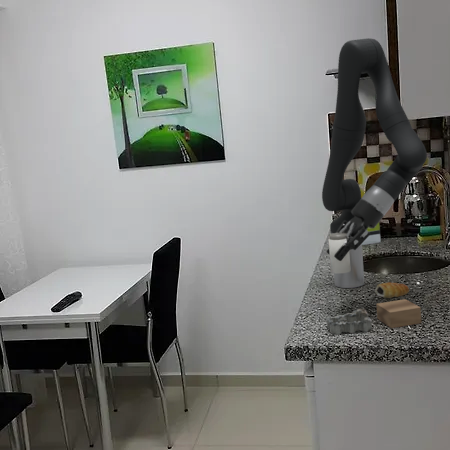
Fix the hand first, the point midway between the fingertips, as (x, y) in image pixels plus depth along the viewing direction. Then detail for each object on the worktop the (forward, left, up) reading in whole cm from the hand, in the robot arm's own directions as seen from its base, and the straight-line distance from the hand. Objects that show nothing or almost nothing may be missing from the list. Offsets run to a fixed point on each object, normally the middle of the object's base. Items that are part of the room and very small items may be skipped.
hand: (333, 256), depth 156 cm
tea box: (-86, +44, -16) cm, 98 cm away
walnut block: (+12, +12, -16) cm, 23 cm away
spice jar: (0, +2, -4) cm, 5 cm away
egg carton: (+12, -1, -17) cm, 20 cm away
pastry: (-10, +20, -16) cm, 28 cm away
